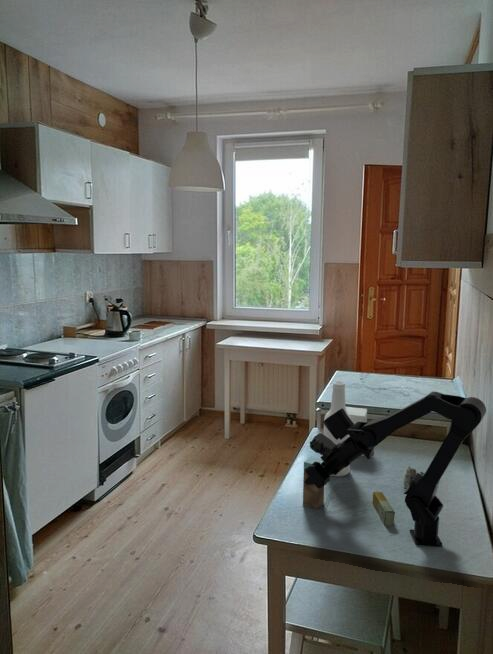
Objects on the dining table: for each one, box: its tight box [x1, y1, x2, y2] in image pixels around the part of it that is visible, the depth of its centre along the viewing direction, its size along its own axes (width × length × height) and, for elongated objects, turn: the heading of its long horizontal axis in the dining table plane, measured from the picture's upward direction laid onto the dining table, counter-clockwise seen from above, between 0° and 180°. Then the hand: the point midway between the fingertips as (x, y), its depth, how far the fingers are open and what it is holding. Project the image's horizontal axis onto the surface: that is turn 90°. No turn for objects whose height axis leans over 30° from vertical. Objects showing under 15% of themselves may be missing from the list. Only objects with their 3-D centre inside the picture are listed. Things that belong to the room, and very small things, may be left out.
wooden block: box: [302, 456, 325, 510], centre depth 145 cm, size 4×4×13 cm
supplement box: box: [345, 406, 368, 457], centre depth 183 cm, size 9×9×15 cm
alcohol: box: [323, 381, 351, 478], centre depth 165 cm, size 9×9×30 cm
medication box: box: [371, 491, 396, 527], centre depth 140 cm, size 12×3×4 cm, turn 2°
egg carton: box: [403, 465, 425, 491], centre depth 157 cm, size 11×8×4 cm
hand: (309, 480), depth 145 cm, fingers closed on wooden block, 4 cm apart
